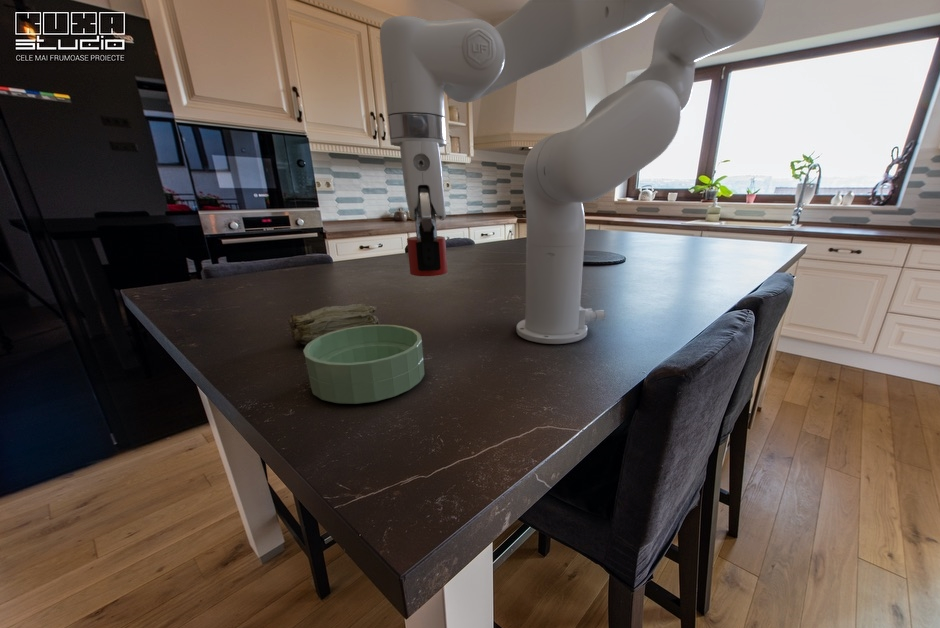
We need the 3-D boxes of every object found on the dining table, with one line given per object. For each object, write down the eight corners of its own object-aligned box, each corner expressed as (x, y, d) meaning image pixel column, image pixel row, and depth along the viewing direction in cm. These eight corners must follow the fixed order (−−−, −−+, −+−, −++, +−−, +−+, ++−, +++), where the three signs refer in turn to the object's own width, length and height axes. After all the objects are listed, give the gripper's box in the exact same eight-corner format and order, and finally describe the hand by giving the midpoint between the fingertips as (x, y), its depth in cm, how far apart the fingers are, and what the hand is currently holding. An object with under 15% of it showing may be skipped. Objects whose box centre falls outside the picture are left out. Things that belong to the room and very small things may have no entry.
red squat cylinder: (445, 268, 64) (443, 228, 61) (449, 275, 59) (446, 232, 56) (410, 270, 62) (406, 229, 60) (410, 277, 57) (406, 233, 55)
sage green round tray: (422, 355, 61) (419, 321, 59) (427, 399, 48) (423, 357, 46) (322, 364, 57) (316, 329, 56) (299, 414, 45) (290, 370, 43)
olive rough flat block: (301, 355, 61) (293, 322, 59) (287, 338, 68) (280, 308, 66) (390, 335, 69) (387, 305, 67) (370, 322, 76) (366, 295, 74)
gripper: (452, 124, 47) (459, 276, 53) (441, 141, 62) (448, 256, 69) (386, 122, 45) (402, 279, 52) (391, 140, 61) (403, 258, 67)
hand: (428, 265), depth 60 cm, fingers closed on red squat cylinder, 5 cm apart
